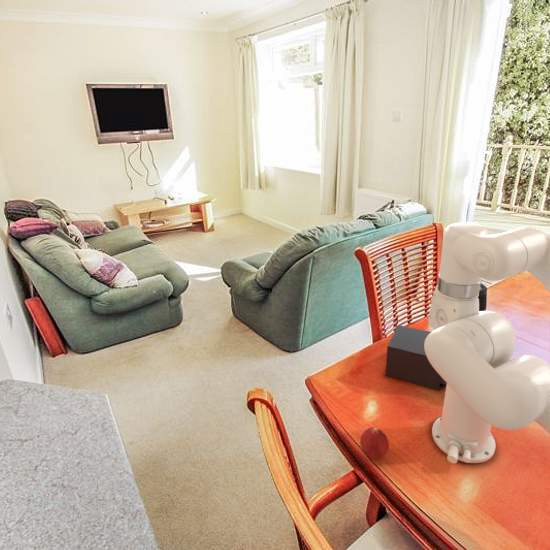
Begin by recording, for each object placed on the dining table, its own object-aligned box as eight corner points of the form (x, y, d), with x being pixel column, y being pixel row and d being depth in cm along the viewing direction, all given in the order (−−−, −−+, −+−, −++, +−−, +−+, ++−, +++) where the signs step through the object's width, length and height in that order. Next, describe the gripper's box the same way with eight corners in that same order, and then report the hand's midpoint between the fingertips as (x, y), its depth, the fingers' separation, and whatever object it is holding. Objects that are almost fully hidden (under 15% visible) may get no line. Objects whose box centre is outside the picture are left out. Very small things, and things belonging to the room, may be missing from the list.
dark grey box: (445, 364, 106) (449, 335, 102) (438, 390, 97) (442, 359, 93) (396, 352, 113) (398, 324, 109) (385, 375, 104) (387, 346, 100)
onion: (354, 451, 82) (355, 423, 79) (375, 440, 84) (377, 413, 81) (371, 471, 77) (372, 443, 74) (393, 460, 79) (395, 432, 76)
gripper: (420, 274, 80) (413, 345, 87) (465, 305, 67) (452, 387, 74) (452, 269, 81) (443, 340, 89) (503, 299, 68) (486, 380, 75)
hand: (447, 361), depth 81 cm, fingers closed
